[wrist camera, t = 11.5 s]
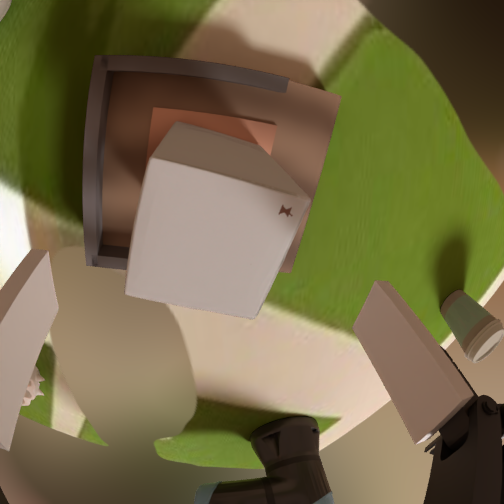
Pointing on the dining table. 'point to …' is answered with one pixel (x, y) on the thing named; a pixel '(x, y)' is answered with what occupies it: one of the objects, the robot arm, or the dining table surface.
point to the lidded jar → (4, 7)
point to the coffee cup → (472, 325)
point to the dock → (195, 113)
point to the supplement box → (211, 223)
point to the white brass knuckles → (33, 387)
